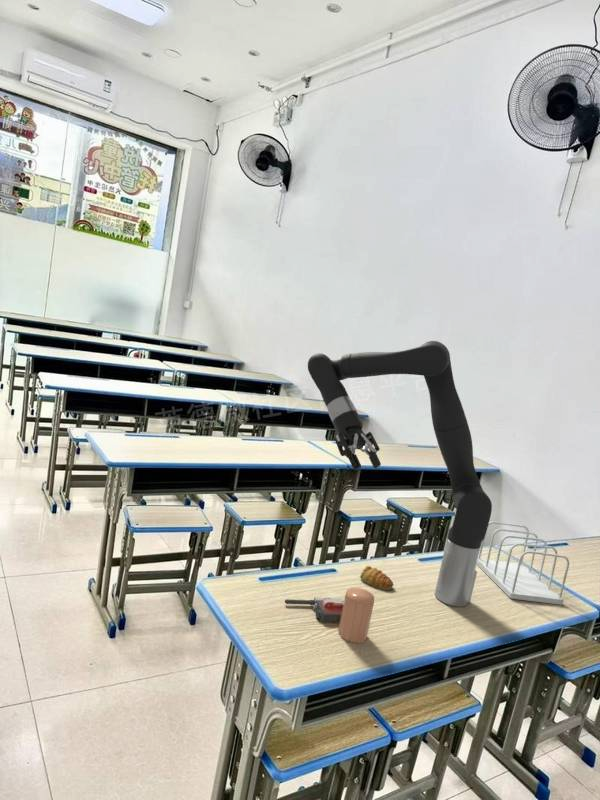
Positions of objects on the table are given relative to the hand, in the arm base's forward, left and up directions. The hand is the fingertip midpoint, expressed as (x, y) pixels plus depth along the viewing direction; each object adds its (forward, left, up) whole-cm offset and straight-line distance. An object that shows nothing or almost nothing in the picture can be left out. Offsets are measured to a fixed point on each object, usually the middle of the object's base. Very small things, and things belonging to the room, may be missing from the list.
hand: (368, 467), depth 146 cm
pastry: (-12, -2, -35) cm, 37 cm away
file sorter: (-62, +6, -35) cm, 72 cm away
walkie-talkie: (+12, +11, -35) cm, 39 cm away
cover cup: (+10, +21, -35) cm, 42 cm away
